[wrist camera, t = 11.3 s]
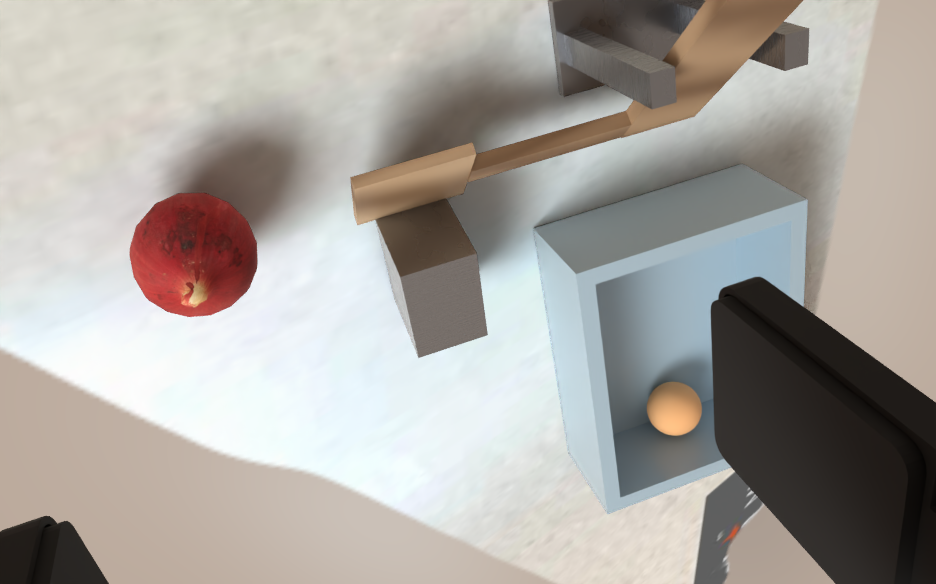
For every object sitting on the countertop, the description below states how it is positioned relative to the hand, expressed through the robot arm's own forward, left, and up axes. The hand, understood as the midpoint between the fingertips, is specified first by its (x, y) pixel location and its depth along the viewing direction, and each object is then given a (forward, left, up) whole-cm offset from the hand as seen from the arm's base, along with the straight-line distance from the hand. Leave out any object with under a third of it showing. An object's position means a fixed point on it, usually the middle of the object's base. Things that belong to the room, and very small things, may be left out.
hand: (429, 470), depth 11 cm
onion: (+8, -6, -32) cm, 34 cm away
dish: (+23, +19, -32) cm, 44 cm away
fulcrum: (+4, +19, -32) cm, 38 cm away
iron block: (+11, +5, -28) cm, 31 cm away
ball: (+29, +19, -30) cm, 46 cm away
